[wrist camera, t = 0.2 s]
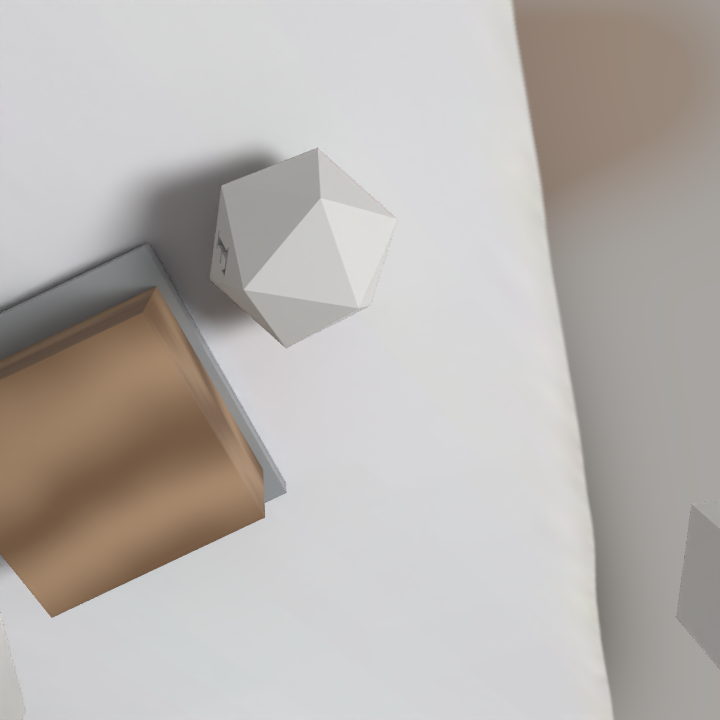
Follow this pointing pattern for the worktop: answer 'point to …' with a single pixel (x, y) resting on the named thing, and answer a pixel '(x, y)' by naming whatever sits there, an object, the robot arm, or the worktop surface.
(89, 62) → the worktop surface
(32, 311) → the base plate
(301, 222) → the die
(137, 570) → the walnut brick
